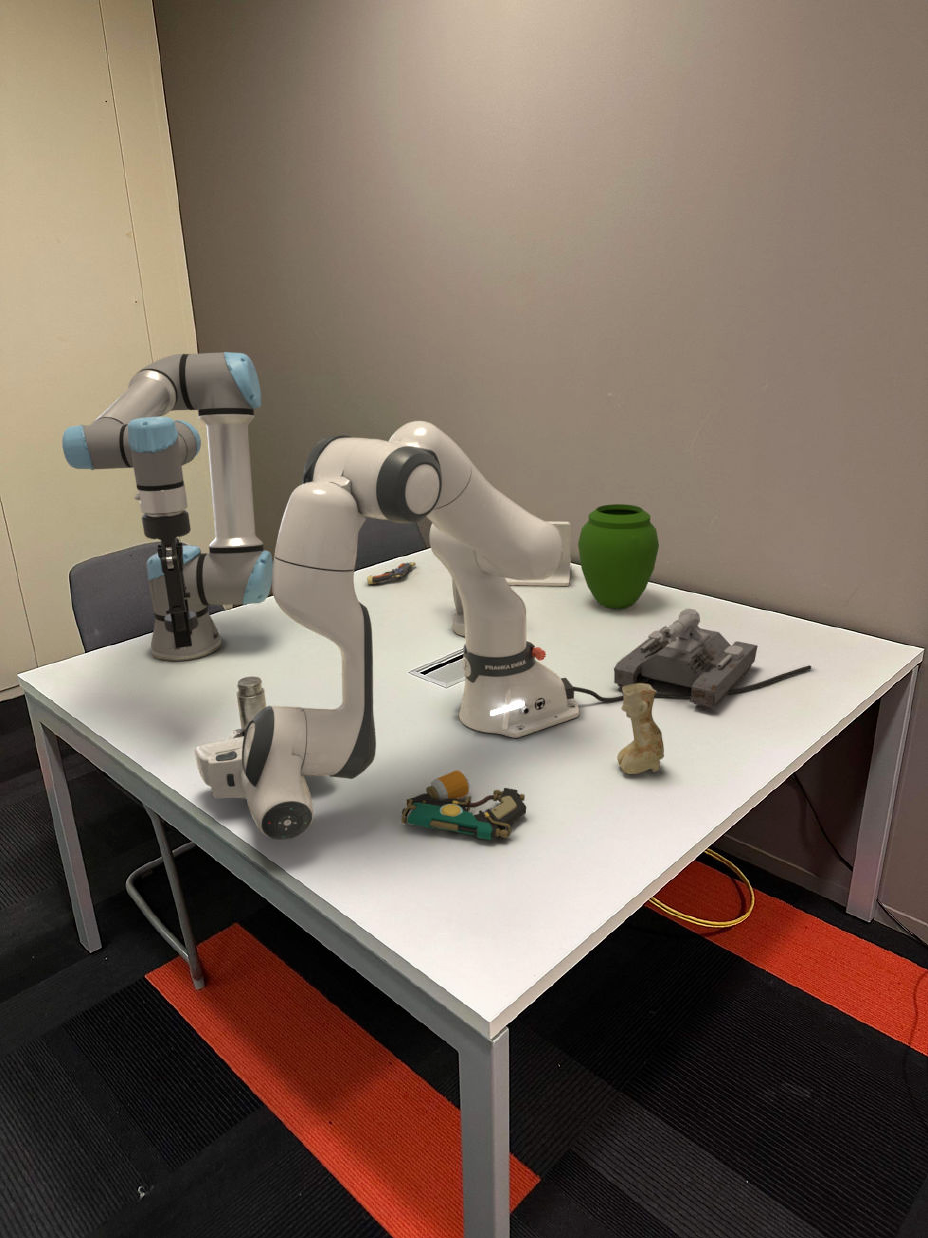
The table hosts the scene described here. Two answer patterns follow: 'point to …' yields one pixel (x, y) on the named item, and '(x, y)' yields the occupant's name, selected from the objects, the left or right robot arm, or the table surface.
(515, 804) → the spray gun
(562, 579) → the tablet stand
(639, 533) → the vase
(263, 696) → the beige long cylinder
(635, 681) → the toy
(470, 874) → the table surface
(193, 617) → the lid
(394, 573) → the toy gun
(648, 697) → the sculpture
